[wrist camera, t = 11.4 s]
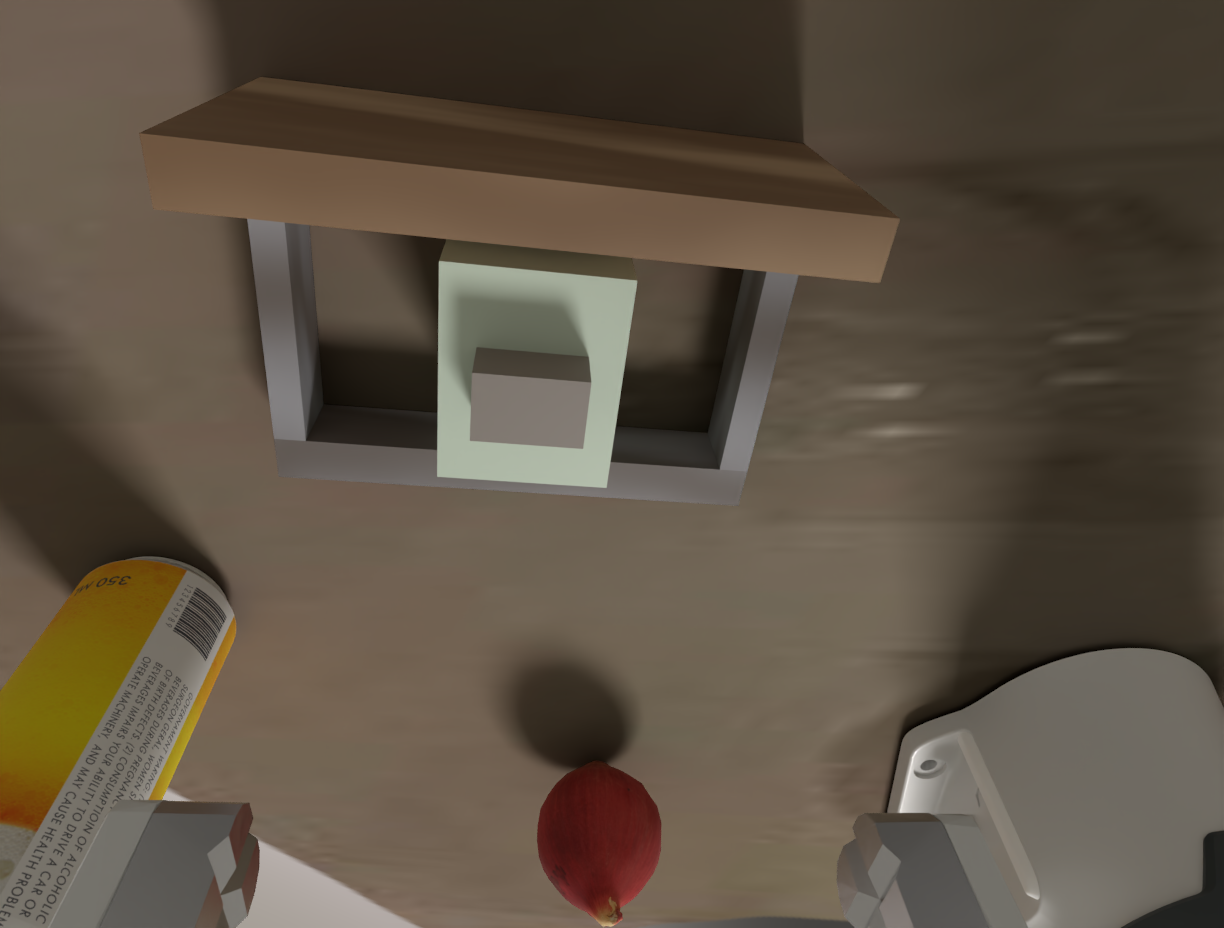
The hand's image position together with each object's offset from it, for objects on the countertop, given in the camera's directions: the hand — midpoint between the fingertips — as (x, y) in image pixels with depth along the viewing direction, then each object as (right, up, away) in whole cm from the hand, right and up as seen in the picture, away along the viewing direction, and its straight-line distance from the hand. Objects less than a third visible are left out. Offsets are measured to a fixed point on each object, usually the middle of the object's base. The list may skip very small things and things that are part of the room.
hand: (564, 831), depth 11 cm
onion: (0, -10, +30) cm, 32 cm away
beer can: (-18, -1, +22) cm, 28 cm away
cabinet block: (-2, +10, +16) cm, 19 cm away
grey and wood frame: (-2, +10, +16) cm, 19 cm away
